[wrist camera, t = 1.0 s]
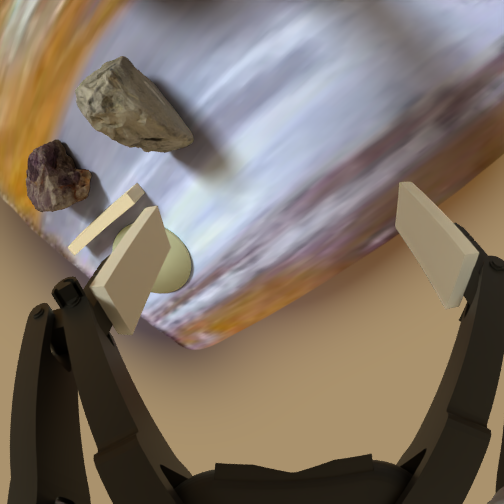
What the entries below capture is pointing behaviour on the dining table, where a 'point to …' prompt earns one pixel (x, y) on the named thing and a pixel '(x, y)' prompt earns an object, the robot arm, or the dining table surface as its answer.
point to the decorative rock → (131, 109)
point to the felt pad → (168, 264)
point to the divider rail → (107, 218)
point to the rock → (55, 178)
